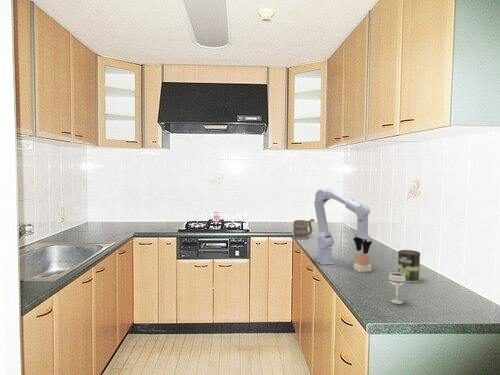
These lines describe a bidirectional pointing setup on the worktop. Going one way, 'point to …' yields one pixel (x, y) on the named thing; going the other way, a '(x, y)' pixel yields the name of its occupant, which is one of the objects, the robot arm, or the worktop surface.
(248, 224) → the worktop surface
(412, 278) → the coffee can
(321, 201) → the robot arm
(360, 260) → the terracotta cube
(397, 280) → the wineglass
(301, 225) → the tankard
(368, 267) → the cream plinth
